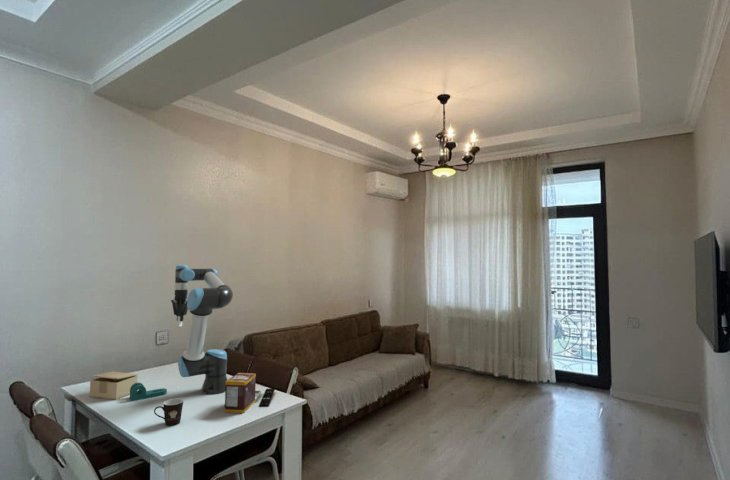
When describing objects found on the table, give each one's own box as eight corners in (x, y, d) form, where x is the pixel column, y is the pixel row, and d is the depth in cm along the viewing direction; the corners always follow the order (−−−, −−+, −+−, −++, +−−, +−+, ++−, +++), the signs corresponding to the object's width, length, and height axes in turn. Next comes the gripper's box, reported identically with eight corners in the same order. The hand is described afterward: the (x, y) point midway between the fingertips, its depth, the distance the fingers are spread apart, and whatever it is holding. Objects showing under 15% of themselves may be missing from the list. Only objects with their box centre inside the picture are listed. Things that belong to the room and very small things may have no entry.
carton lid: (117, 379, 211) (117, 378, 211) (90, 376, 215) (91, 375, 215) (137, 375, 225) (138, 373, 225) (112, 372, 229) (112, 371, 229)
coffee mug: (185, 419, 186) (186, 398, 187) (177, 427, 177) (178, 405, 178) (161, 419, 186) (162, 398, 186) (152, 427, 177) (153, 405, 178)
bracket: (131, 401, 209) (132, 386, 209) (129, 398, 214) (130, 383, 214) (167, 394, 220) (168, 380, 220) (165, 391, 225) (165, 377, 226)
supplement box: (255, 402, 210) (256, 373, 211) (243, 413, 194) (244, 382, 195) (237, 401, 211) (238, 372, 212) (224, 412, 196) (225, 381, 196)
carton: (115, 400, 210) (116, 383, 211) (89, 396, 214) (89, 380, 215) (136, 391, 224) (137, 375, 224) (111, 388, 228) (112, 373, 228)
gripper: (193, 289, 250) (192, 325, 249) (176, 288, 253) (175, 324, 252) (186, 289, 243) (184, 327, 241) (168, 289, 246) (166, 326, 244)
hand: (179, 326), depth 246 cm, fingers closed
